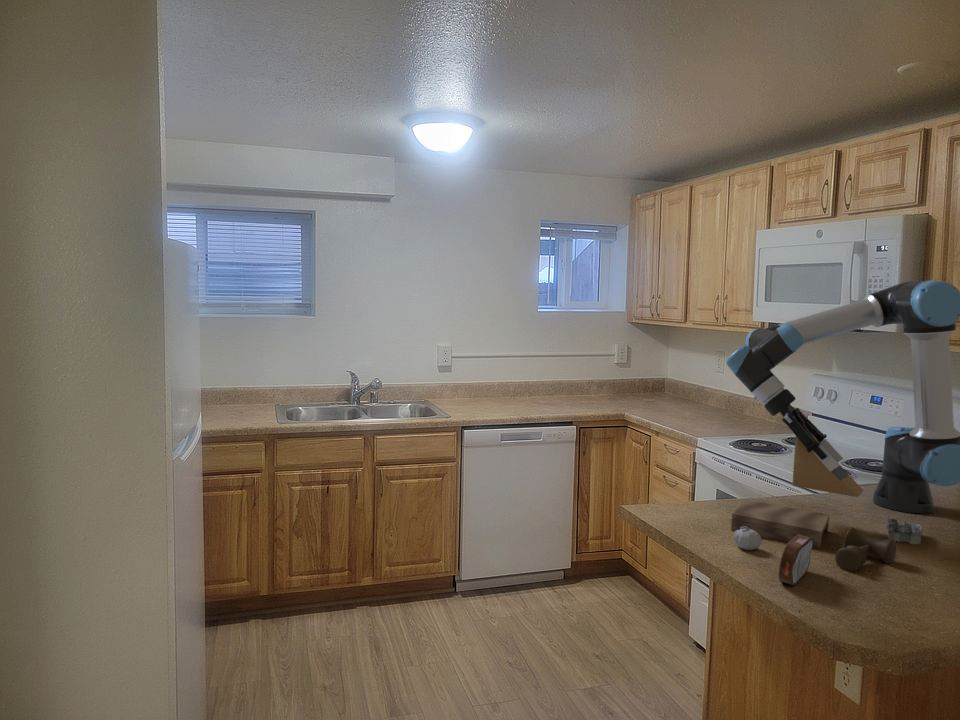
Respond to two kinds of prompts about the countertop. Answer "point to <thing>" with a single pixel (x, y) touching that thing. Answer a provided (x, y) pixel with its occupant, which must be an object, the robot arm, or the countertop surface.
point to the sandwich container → (820, 474)
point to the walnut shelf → (780, 521)
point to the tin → (795, 559)
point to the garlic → (747, 538)
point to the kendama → (863, 550)
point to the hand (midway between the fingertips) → (836, 464)
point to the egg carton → (903, 531)
